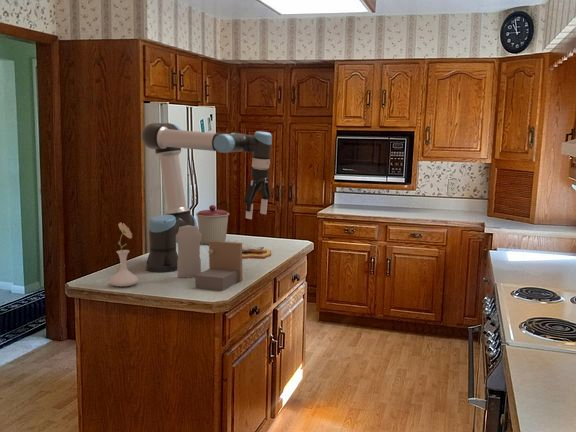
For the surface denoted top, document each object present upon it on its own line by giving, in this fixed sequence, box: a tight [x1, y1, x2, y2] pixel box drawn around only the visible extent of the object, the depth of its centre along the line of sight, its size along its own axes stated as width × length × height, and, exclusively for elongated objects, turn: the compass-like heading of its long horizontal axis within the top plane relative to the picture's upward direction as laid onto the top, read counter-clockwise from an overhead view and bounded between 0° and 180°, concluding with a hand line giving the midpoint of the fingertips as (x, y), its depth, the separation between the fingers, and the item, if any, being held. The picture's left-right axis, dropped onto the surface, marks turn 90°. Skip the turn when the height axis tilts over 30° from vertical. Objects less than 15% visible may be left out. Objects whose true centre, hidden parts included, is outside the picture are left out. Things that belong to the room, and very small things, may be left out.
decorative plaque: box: [233, 239, 272, 260], centre depth 298 cm, size 30×7×20 cm
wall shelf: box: [194, 241, 243, 291], centre depth 240 cm, size 14×16×16 cm
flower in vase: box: [108, 222, 139, 287], centre depth 238 cm, size 13×11×25 cm
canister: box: [195, 204, 230, 246], centre depth 325 cm, size 18×18×21 cm
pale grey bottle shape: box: [176, 225, 202, 279], centre depth 252 cm, size 11×4×22 cm, turn 105°
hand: (256, 216), depth 262 cm, fingers open, 13 cm apart
